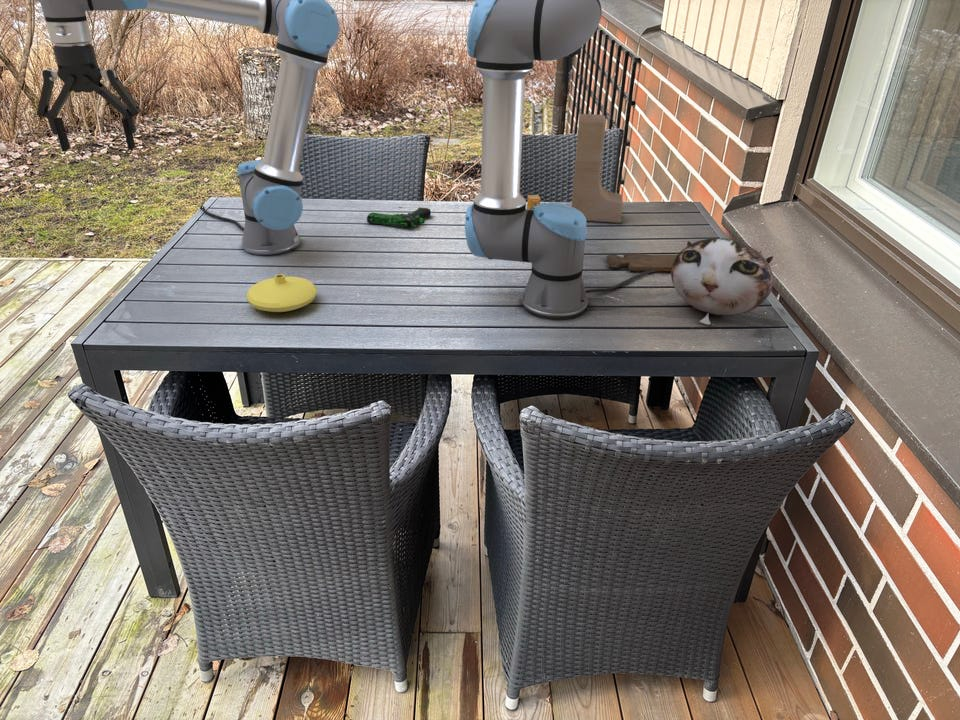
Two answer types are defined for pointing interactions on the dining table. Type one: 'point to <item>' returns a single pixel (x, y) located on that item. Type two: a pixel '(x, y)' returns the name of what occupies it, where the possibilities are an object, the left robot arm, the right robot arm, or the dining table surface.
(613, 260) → the wooden paddle board
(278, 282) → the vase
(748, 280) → the cat face balloon
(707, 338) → the dining table surface
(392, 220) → the handgun
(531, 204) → the supplement box
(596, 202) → the decorative block
